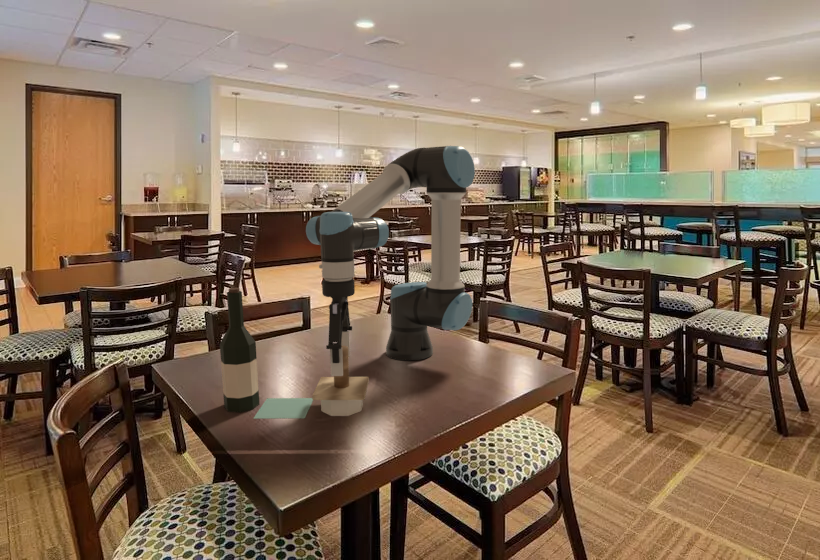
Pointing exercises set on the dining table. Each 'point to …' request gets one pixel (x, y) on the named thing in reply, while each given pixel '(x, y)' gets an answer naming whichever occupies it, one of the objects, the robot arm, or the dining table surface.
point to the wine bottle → (238, 360)
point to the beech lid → (341, 385)
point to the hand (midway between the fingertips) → (341, 365)
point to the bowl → (341, 407)
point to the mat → (284, 408)
